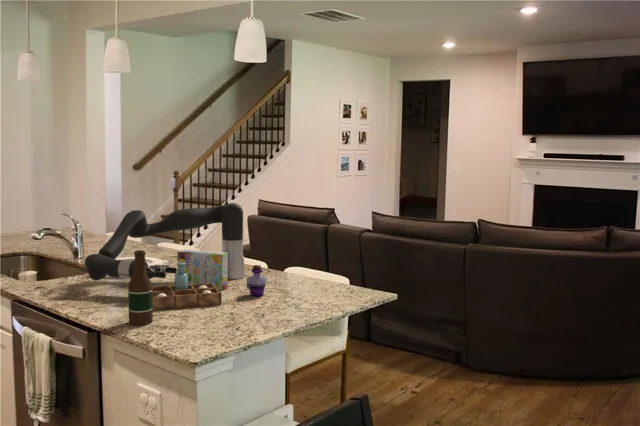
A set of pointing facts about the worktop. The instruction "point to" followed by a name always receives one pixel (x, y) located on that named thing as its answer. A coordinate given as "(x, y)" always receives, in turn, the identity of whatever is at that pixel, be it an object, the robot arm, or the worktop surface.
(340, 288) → the worktop surface
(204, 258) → the snack box
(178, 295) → the crate
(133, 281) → the beer bottle
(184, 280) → the bud vase
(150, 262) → the white circle with bar
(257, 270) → the potion bottle
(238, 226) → the robot arm
